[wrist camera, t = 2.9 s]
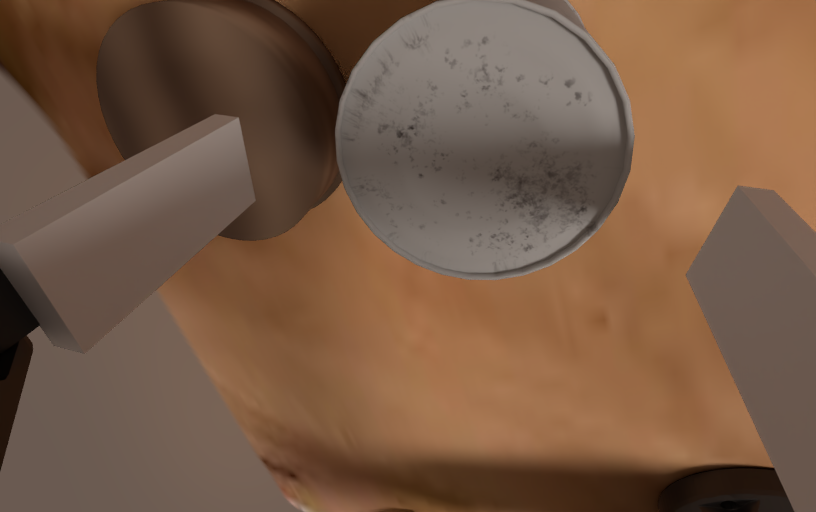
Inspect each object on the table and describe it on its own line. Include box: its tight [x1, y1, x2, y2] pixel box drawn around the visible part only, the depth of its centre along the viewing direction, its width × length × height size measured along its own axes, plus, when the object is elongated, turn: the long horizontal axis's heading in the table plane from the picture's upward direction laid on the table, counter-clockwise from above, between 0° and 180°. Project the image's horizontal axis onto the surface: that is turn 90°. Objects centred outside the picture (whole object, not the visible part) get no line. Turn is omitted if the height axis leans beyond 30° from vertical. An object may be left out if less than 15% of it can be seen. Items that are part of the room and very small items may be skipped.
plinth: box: [97, 0, 346, 241], centre depth 26 cm, size 15×15×5 cm
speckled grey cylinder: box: [335, 0, 635, 280], centre depth 18 cm, size 10×10×12 cm
